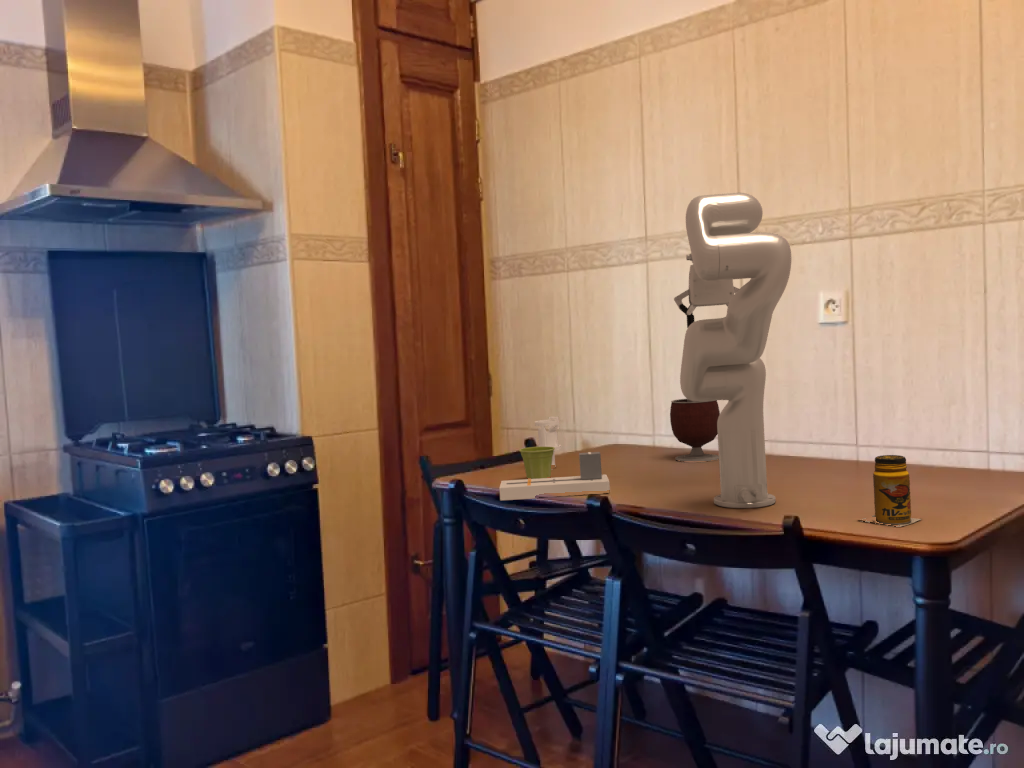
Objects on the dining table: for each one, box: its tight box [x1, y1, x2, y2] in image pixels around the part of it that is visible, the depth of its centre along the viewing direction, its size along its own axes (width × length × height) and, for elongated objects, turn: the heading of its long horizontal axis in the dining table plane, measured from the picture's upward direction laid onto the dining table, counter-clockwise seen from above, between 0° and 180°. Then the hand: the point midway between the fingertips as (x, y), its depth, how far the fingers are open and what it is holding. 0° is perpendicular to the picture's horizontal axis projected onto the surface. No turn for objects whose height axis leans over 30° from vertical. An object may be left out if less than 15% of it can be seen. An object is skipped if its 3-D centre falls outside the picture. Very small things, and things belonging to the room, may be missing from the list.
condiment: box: [862, 454, 922, 528], centre depth 155 cm, size 7×8×12 cm
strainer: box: [534, 416, 562, 466], centre depth 244 cm, size 7×7×15 cm
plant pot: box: [518, 446, 555, 479], centre depth 224 cm, size 9×9×9 cm
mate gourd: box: [669, 398, 721, 462], centre depth 242 cm, size 16×14×20 cm
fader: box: [578, 451, 603, 480], centre depth 204 cm, size 3×5×6 cm, turn 88°
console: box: [499, 473, 611, 501], centre depth 205 cm, size 10×26×3 cm, turn 88°
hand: (712, 330), depth 201 cm, fingers open, 9 cm apart
